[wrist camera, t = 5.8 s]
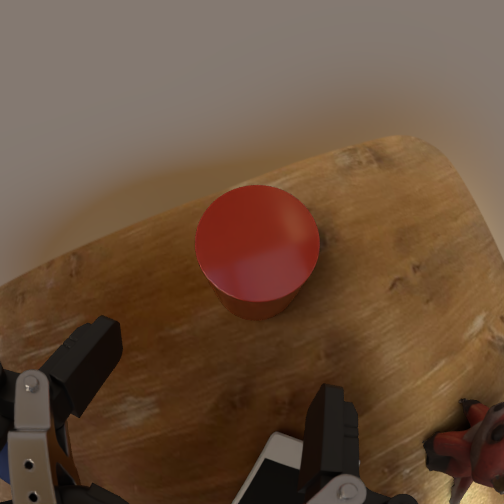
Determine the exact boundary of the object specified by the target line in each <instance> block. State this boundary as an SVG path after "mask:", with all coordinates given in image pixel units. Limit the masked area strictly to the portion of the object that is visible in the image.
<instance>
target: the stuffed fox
mask: <svg viewBox="0 0 504 504" xmlns="http://www.w3.org/2000/svg"><path fill="white" fill-rule="evenodd" d="M458 403H463V411H464V413H465V416H466V417H467V420H468V421H469V422H470V426H471V428H470V429H468V430H465V431H451V432H445V433H441V432H435V434H433V435H432V436H431V437H430V438H428V439H427V440H426V441H425V443H424V445H423V446H424V448H425V451H426V453H427V462H426V467H427V468H428V469H429V470H430V471H433V470H434V471H439V472H443V473H445V474H448V475H450V476H452V477H453V478H454V480H453V481H454V485H453V486H452V488H451V499H450V500H449V503H450V504H459V503H460V501H461V499H462V498H463V496H464V494H465V493H466V491H467V490H468V488H469V487H470V485H471V484H472V482H473V481H474V482H476V483H478V484H482V485H485V486H488V487H492V488H494V489H495V490H496V491H497V492H498V493H500V494H504V402H501V403H498V404H496V405H494V406H492V407H491V408H488V407H487V406H485V405H483V404H482V403H480V402H479V401H477V400H466V399H460V400H459V402H458ZM423 442H424V441H423ZM423 442H422V443H423Z"/></svg>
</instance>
